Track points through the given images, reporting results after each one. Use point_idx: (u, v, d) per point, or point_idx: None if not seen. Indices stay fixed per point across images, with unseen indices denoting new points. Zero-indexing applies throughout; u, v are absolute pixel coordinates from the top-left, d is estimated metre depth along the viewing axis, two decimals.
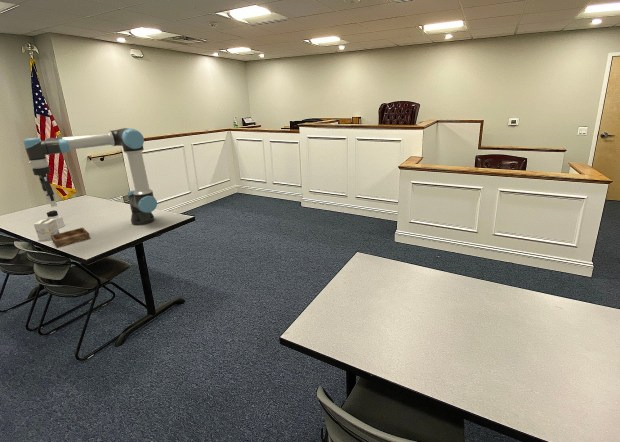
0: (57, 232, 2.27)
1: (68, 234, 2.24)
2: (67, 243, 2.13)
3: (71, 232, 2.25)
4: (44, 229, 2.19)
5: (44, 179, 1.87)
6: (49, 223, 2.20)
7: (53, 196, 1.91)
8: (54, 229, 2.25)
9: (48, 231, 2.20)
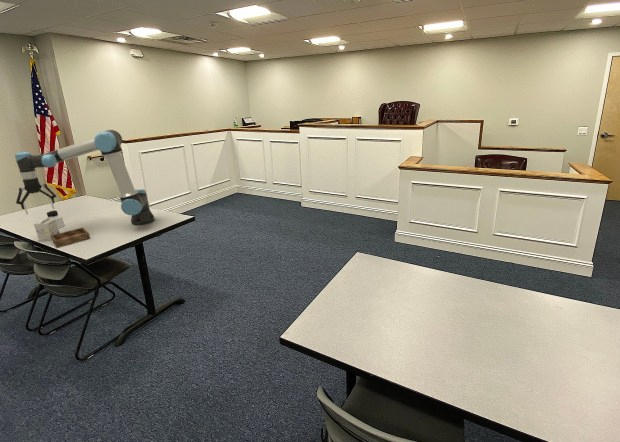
0: (57, 232, 2.27)
1: (68, 234, 2.24)
2: (67, 243, 2.13)
3: (71, 232, 2.25)
4: (44, 229, 2.19)
5: None
6: (49, 223, 2.20)
7: (23, 205, 2.12)
8: (54, 229, 2.25)
9: (48, 231, 2.20)
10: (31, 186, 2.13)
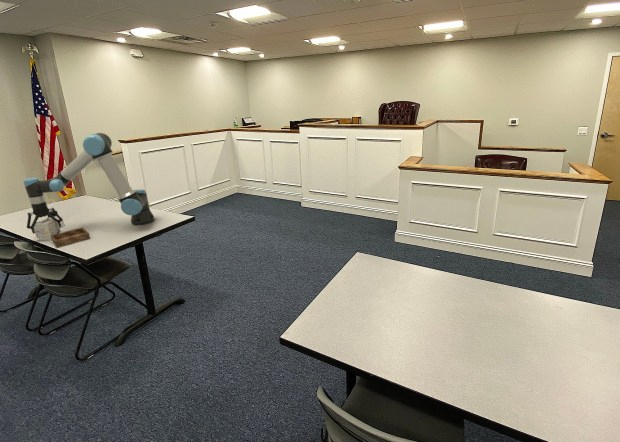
0: (57, 232, 2.27)
1: (68, 234, 2.24)
2: (67, 243, 2.13)
3: (71, 232, 2.25)
4: (44, 229, 2.19)
5: None
6: (49, 223, 2.20)
7: (34, 230, 2.18)
8: (54, 229, 2.25)
9: (48, 231, 2.20)
10: (39, 210, 2.18)
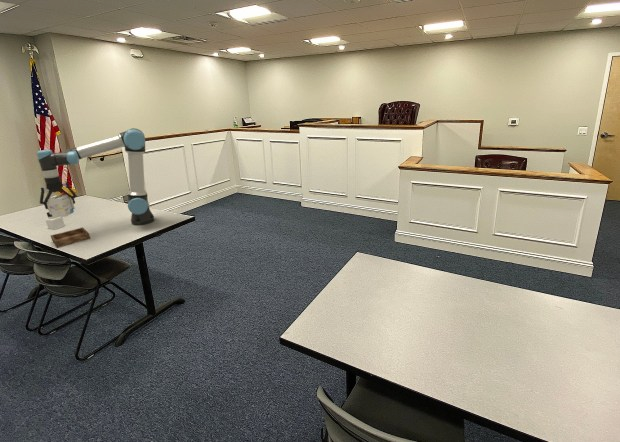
0: (71, 209, 2.16)
1: (68, 234, 2.24)
2: (67, 243, 2.13)
3: (71, 232, 2.25)
4: (57, 205, 2.08)
5: None
6: (63, 198, 2.09)
7: (47, 205, 2.07)
8: (68, 205, 2.13)
9: (62, 207, 2.09)
10: (53, 185, 2.07)
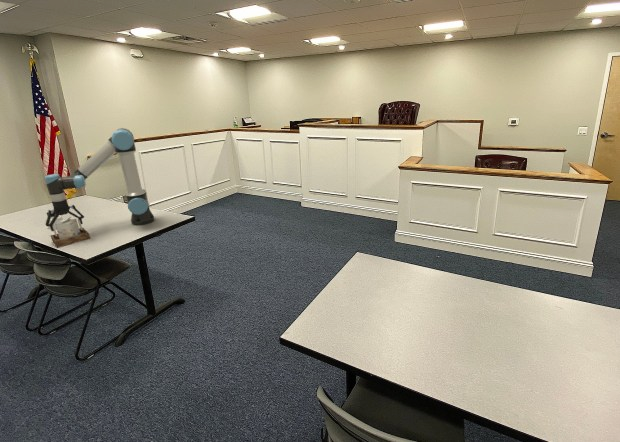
0: (78, 232, 2.22)
1: None
2: (67, 243, 2.13)
3: None
4: (65, 229, 2.14)
5: (48, 211, 2.09)
6: (71, 223, 2.15)
7: (52, 227, 2.11)
8: (75, 229, 2.19)
9: (70, 231, 2.14)
10: (60, 208, 2.12)
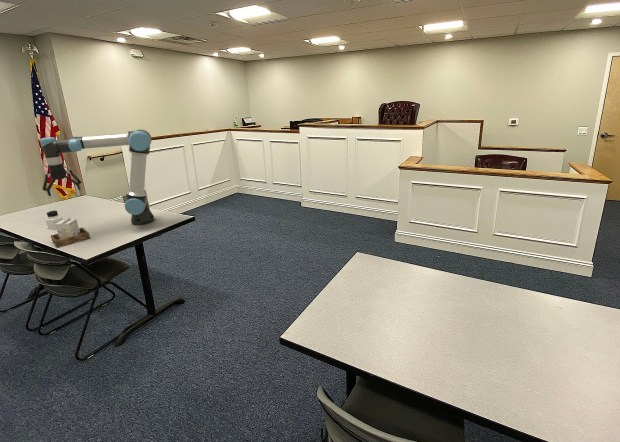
0: (78, 232, 2.22)
1: None
2: (67, 243, 2.13)
3: None
4: (65, 229, 2.14)
5: None
6: (71, 223, 2.15)
7: (50, 192, 2.09)
8: (75, 229, 2.19)
9: (70, 231, 2.14)
10: (57, 172, 2.09)
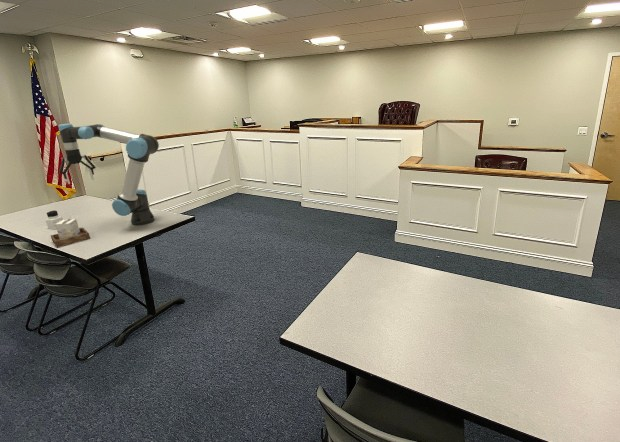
0: (78, 232, 2.22)
1: None
2: (67, 243, 2.13)
3: None
4: (65, 229, 2.14)
5: None
6: (71, 223, 2.15)
7: (66, 175, 2.21)
8: (75, 229, 2.19)
9: (70, 231, 2.14)
10: (73, 157, 2.21)
